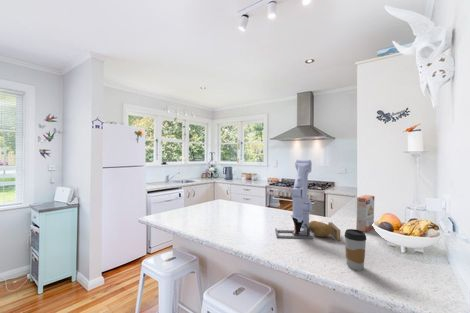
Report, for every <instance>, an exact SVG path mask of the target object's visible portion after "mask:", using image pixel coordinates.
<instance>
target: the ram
mask: <svg viewBox="0 0 470 313" xmlns="http://www.w3.org/2000/svg"><path fill="white" fill-rule="evenodd" d="M293 225H294V226H293V228H294V230H292V229H291V230H292V236H311V230H310V228H309V227H308V225H307V224H304V227H303V230H300V232H296V228H295V223H294V222H293Z"/></svg>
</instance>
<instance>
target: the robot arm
mask: <svg viewBox="0 0 470 313" xmlns="http://www.w3.org/2000/svg"><path fill="white" fill-rule="evenodd" d="M294 164H295V166H294V167H295V169H296V171H297V175H296V176H297V177H295V179H294V183H293V187H292V188H291V200H292V214H290V218H291V219H292V221H293V224H294V223H295V228H296V232H300V231H302V228H304V224H307V225H308V227H309V223H310V213H311V212H312V208H313V207H312V200H311V199H310V198H309V197H308V185H309V184H308V183H309V182H308V181H309V178H308V177H309V174H310V173H312V166H313V165H312V164H313V162H312V160H311V159H296V160H295V163H294Z"/></svg>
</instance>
